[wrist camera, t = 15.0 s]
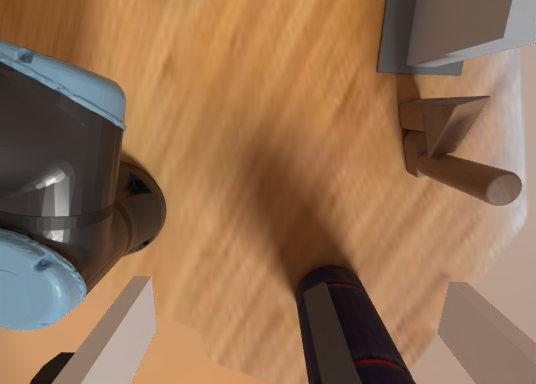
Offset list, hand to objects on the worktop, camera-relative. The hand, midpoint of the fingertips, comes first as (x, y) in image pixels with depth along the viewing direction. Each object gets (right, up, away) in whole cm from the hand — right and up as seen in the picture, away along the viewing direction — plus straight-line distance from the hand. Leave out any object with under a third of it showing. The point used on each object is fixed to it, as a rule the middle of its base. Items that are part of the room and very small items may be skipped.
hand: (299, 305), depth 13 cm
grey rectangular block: (+20, +28, +28) cm, 44 cm away
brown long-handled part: (+21, +14, +32) cm, 41 cm away
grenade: (+9, -12, +40) cm, 42 cm away
